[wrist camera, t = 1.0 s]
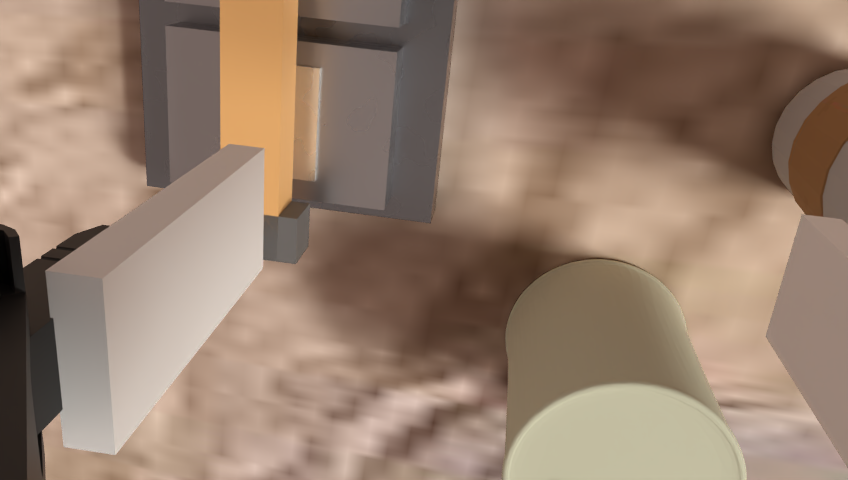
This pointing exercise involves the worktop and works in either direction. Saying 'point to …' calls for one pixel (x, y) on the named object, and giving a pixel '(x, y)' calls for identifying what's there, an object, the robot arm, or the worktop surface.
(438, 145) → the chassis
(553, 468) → the can
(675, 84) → the worktop surface
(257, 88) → the bar
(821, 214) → the coffee cup
